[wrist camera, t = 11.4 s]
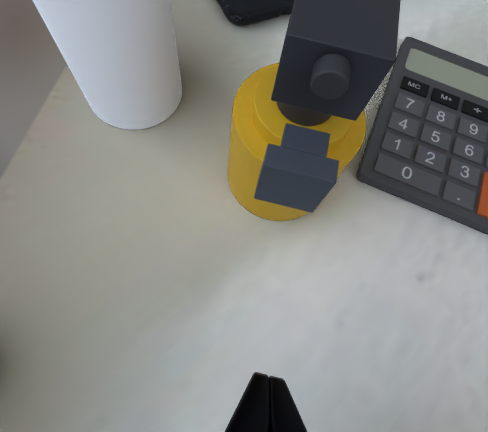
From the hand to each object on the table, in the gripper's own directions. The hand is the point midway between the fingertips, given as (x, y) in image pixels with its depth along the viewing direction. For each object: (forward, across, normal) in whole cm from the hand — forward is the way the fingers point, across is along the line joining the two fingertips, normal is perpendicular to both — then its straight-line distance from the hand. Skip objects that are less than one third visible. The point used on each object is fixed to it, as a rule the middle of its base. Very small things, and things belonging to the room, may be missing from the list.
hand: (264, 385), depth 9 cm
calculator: (+22, -13, -6) cm, 26 cm away
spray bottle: (+17, 0, -1) cm, 17 cm away
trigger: (+9, 0, -3) cm, 9 cm away
